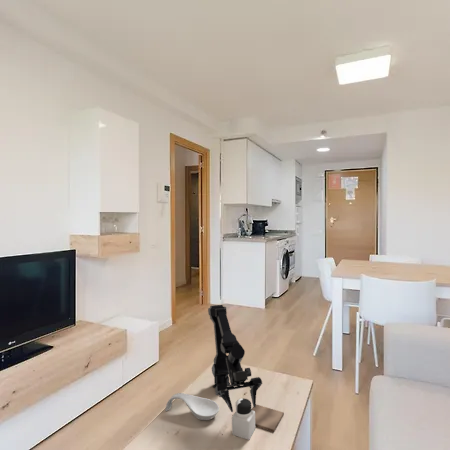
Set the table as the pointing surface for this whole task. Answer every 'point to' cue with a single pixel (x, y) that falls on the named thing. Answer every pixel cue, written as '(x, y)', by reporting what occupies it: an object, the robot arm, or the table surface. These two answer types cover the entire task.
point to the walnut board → (267, 417)
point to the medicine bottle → (243, 419)
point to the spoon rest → (196, 405)
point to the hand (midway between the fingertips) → (243, 409)
